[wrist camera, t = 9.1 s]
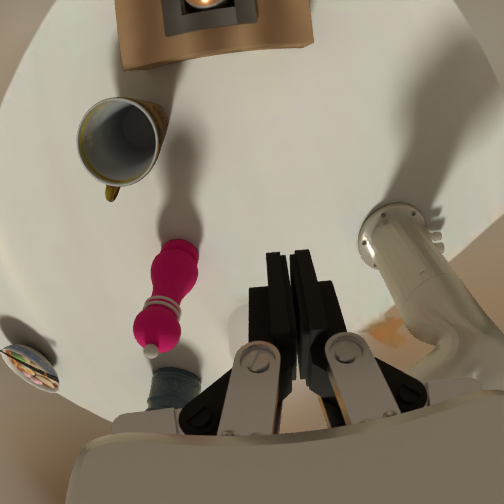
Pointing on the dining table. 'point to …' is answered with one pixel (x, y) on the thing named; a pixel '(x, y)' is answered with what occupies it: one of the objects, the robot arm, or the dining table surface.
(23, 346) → the ramen bowl
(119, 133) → the ceramic cup
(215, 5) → the peg
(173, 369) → the canister
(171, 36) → the socket block
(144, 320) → the pepper mill
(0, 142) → the dining table surface
